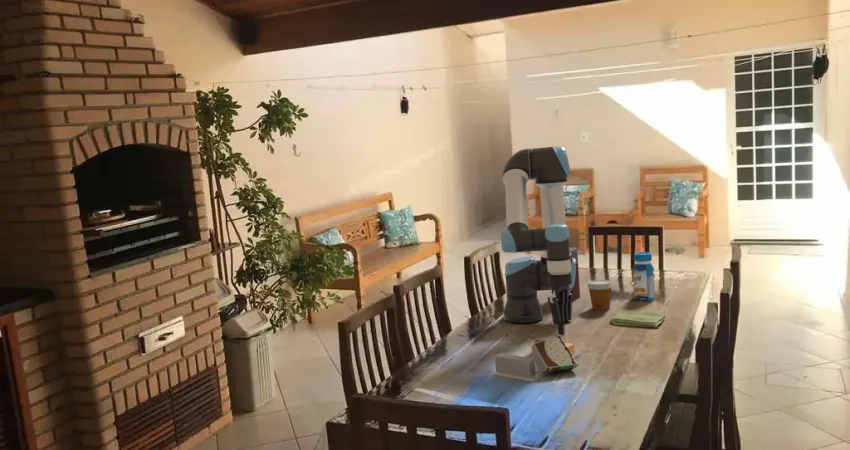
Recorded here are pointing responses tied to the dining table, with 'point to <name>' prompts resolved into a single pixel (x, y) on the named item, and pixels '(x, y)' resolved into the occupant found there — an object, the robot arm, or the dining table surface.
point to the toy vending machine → (576, 285)
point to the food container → (553, 355)
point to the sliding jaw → (568, 345)
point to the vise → (520, 367)
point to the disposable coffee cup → (600, 294)
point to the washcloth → (637, 319)
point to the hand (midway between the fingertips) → (563, 343)
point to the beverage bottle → (643, 277)
